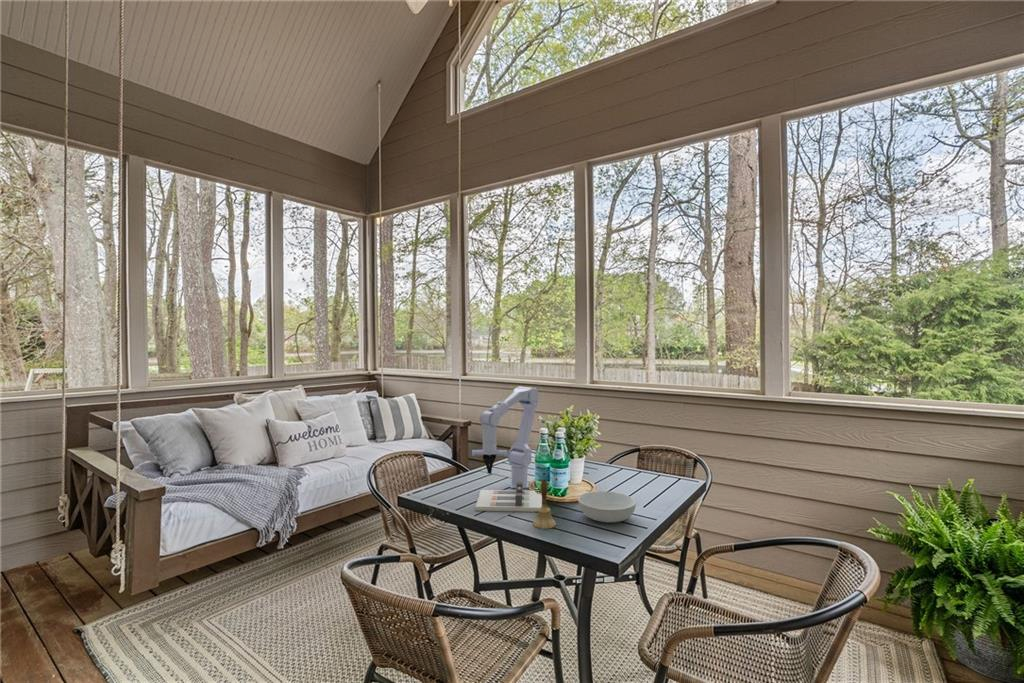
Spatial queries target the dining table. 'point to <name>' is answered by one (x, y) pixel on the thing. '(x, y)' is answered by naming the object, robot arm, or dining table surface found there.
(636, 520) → the dining table surface
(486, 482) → the dining table surface
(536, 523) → the hand bell
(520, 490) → the breaker
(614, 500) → the serving bowl
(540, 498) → the panel
